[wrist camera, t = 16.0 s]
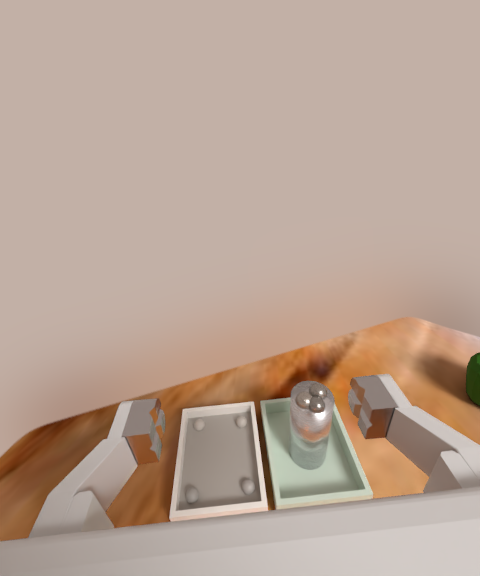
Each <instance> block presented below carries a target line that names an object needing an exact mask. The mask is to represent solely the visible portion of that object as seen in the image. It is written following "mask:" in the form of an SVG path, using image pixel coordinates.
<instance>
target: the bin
mask: <svg viewBox="0 0 480 576" xmlns="http://www.w3.org/2000/svg"><path fill="white" fill-rule="evenodd" d="M290 403H291V398H282V399H273V400H263V401H260V404H261V417H262V423H263V430H264V436H265V443H266V450H267V456H268V463H269V470H270V476H271V483H272V489H273V496H274V503H275V509H276V510H278V509H286V508H295V507H304V506H313V505H322V504H330V503H339V502H348V501H357V500H366V499H372V497H373V492H372V490H371V488H370V485H369V483H368V481H367V478H366V476H365V474H364V471H363V469H362V467H361V464H360V462H359V460H358V457H357V455H356V452H355V450H354V448H353V445H352V443H351V441H350V438H349V436H348V434H347V431H346V429H345V427H344V424H343V422H342V419H341V417H340V415H339V412H338V410H337V408H336V405H335V403H334V408H333V414H332V421H331V427H330V434H329V440H328V447H327V453H326V459H325V462H324V463H323V465H322V466H321V467H319V468H318V469H315V470H306V469H303V468H301V467H299V466H298V465H296V464H295V463H294V461H293V460H292V459H291V457H290V454H289V430H290Z"/></svg>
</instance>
